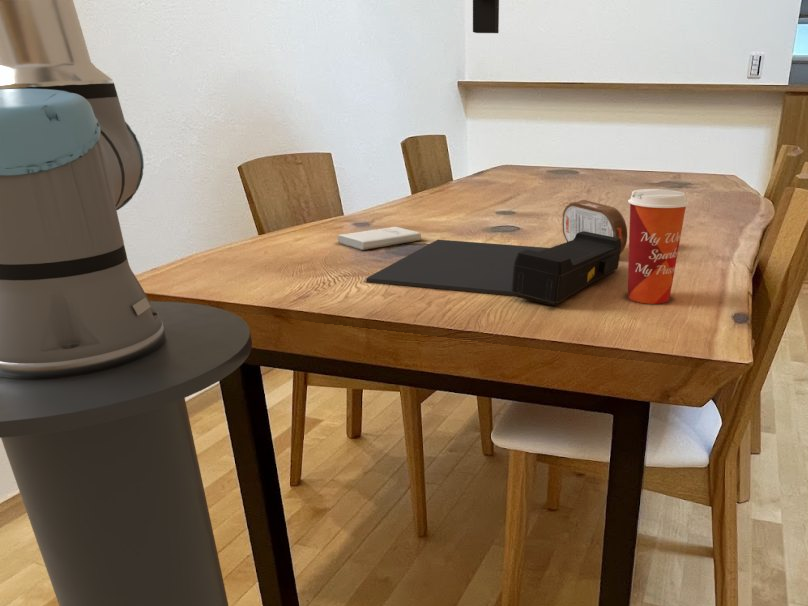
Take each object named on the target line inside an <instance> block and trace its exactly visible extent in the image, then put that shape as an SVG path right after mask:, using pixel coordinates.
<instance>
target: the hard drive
mask: <svg viewBox="0 0 808 606" xmlns="http://www.w3.org/2000/svg"><path fill="white" fill-rule="evenodd" d="M421 240H422V233H420V232H419V231H416V230H411V229H407V228H404V227H399V226H391V227H384V228H376V229H371V230H370V229H369V230H363V231H355V232H349V233H343V234H342V233H341V234H338V235H337V242H338V244H340V245H343V246H347V247H350V248H354V249H356V250H360V251H365V250H373V249H377V248H383V247H389V246H390V247H391V246H396V245H401V244H406V243H407V244H408V243H413V242H418V241H421Z"/></svg>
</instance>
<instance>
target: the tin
mask: <svg viewBox="0 0 808 606" xmlns="http://www.w3.org/2000/svg"><path fill="white" fill-rule="evenodd" d="M561 222H562V234H563V237H564V238H565V241H566V242H569V241H572V240H574V238H575V236H576V234H577V233H579V232H582V231H585V232H590V233H595V234H601V235H606V236H611V237H616V238H620V239H621V253H620V255H621V254H622V253H623V251H624V250H625V248H626V246H627V242H628V227H627V224H626V220H625V218H624V216H623V215H622V213H621V212H620V211H619V210H618V209H617V208H615V207H614V206H611V205H607V204H603V203H599V202H594V201H591V200H588V199H581V200H578V201H574V202H570V203H568V204H567V205H566V206H565V208H564V209H563V212H562V221H561Z"/></svg>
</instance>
